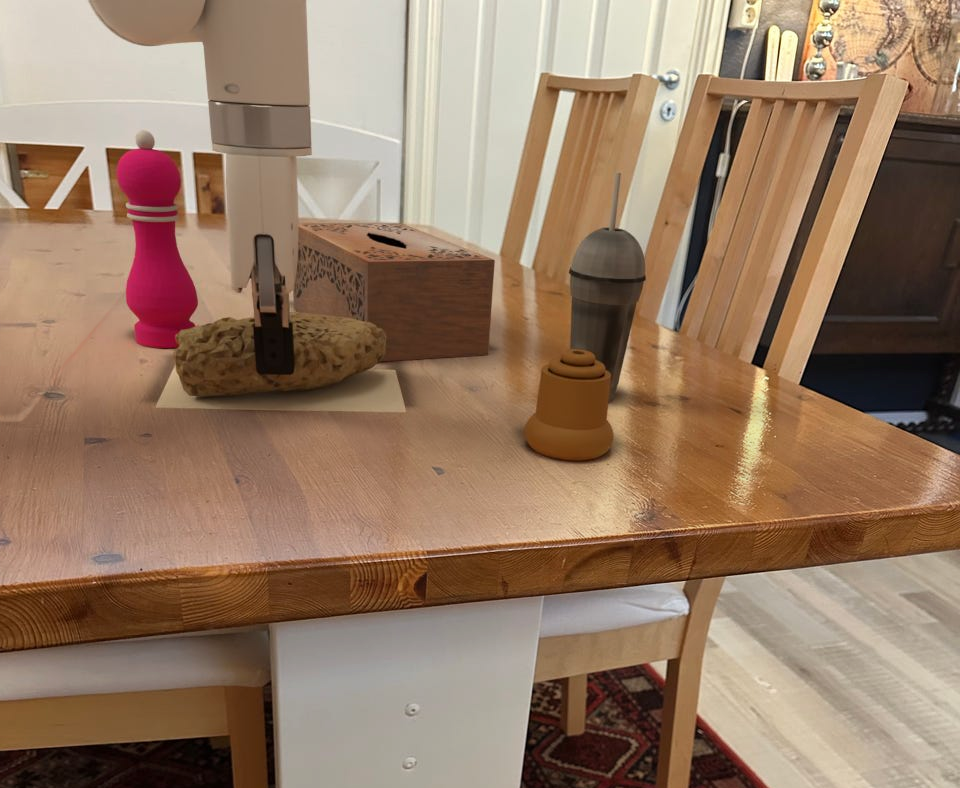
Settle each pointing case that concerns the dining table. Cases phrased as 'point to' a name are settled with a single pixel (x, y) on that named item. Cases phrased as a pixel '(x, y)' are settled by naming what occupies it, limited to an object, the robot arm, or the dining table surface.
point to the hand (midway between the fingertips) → (275, 371)
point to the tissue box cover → (397, 286)
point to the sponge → (317, 352)
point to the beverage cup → (606, 293)
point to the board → (301, 396)
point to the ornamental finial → (572, 408)
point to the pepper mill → (155, 246)
